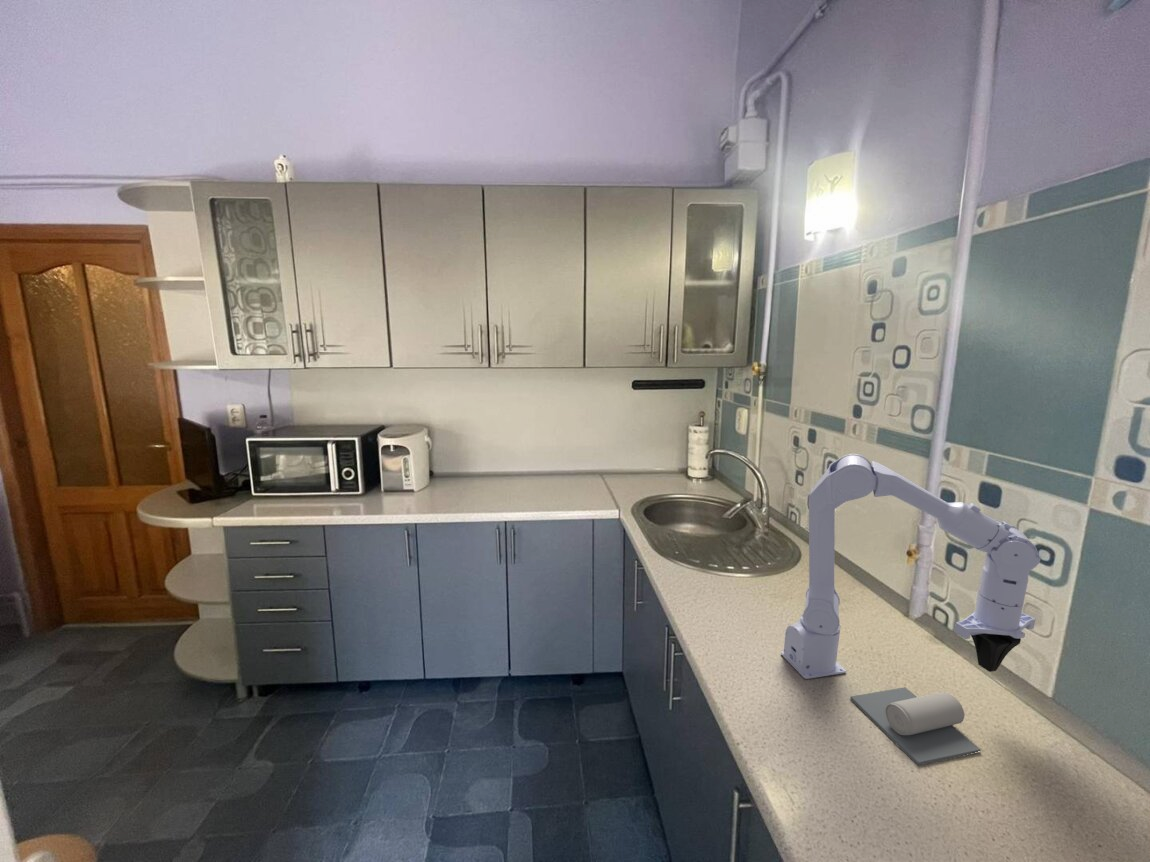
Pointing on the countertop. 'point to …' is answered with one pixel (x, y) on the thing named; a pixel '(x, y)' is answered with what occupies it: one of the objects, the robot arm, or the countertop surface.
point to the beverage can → (924, 713)
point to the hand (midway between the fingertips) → (986, 667)
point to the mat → (919, 745)
